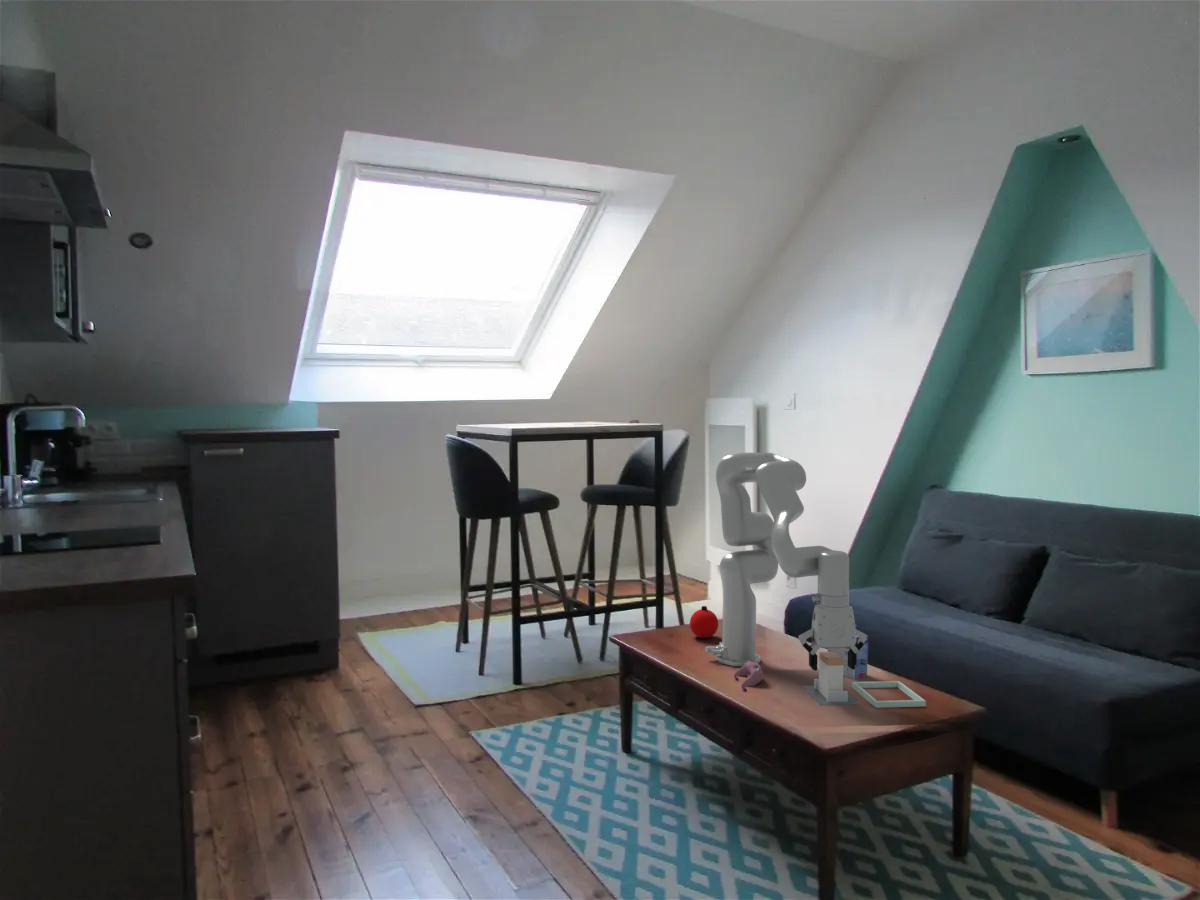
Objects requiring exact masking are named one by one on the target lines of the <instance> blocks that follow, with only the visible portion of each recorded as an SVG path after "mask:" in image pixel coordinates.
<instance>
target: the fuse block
mask: <svg viewBox="0 0 1200 900" xmlns="http://www.w3.org/2000/svg"><path fill="white" fill-rule="evenodd" d="M801 687H802V688H803V689H804V690H805V691H806V692H807V693H808V694H809V695H810V696H811V697H812V698H813V699H814V700H815V701H816V702H817V703H818V704H819V706H851V705H857V706H858V705H861V703H860V702H859V701H858V700H857V699H856V698H855V697H853V696H852V695H851V694H850V693H849V691H848V690H846V689H844V688H843V691H827V698H825V697H824V696H823V695H822V694H821V693H820V692H819V678H814V679H813V685H802V686H801Z"/></svg>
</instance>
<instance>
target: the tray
mask: <svg viewBox="0 0 1200 900" xmlns="http://www.w3.org/2000/svg"><path fill="white" fill-rule="evenodd" d="M851 688H852V689H854V691H856V692H857V693H858V694H860V696H861V697H862V698H864V699H865V701H867V702H868V703H869V704H871V706H873V707H874V708H902V707H903V708H905V707H906V708H910V707H912V708H914V707H918V708H920V707H925V708H926V706H927V704H926V703H927V701H926V700H925V699H924V698H922V696H920V695H919V694H917V693H916V692H915V691H914V690H912V689H911V688H910V687H908V686H906V685H905V684H904V683H903V682H901V681H899V680H887V681H886V680H883V681H881V680H880V681H879V680H878V681H852V682H851ZM872 688H873V689H875V688H876V689H878V688H879V689H880V688H884V689H885V688H897V689H899V690H901V691H902V692H903V693H904V694H906V695H907V696H908V697H910V698H911V699H908V700H907V699H901V700H899V699H898V700H877V699H876V698H875V697H873V696H872V695H871V694H870V693H869V692H867V691H866V690H865V689H872Z"/></svg>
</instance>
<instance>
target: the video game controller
mask: <svg viewBox="0 0 1200 900" xmlns="http://www.w3.org/2000/svg"><path fill="white" fill-rule="evenodd" d="M734 672H735V673H734V674H733V678H734V680H736V681H737V680H738V681H739V680H740V679H739V677H741V676H742V677H744V676H745V677H746V679H745V680H743V682H742V683H741V689H742V690H743V691H747V690H748V689H747V688H746V687H754V686H756V685H758V684H759V683H760V682H761V681H763V679H764V676H763V675H764V673H763V672H764V671H762V667H761V665H760V663H759V664H758V663H756V662H750V661H749V662H747V663H746V664H745V665H744V666H740V668H738V669H737V670H736V671H734Z"/></svg>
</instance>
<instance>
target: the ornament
mask: <svg viewBox="0 0 1200 900" xmlns="http://www.w3.org/2000/svg"><path fill="white" fill-rule="evenodd" d="M689 627H690V629H691V632H692V633H693V635H695V636H696V637H697V638H700V639H701V638H702V639H708V638H711V637H712V636H714V635H715V634H716V633H717V631H718V628H719V620H718V617H717V615H716V614H715V613H714V612H713V611H711V610H709V609H708V606H707V605H703V606H701V609H700V608H699V609H698V610H696V611H695V612H693V613H692V615H691V616H690V619H689Z"/></svg>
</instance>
